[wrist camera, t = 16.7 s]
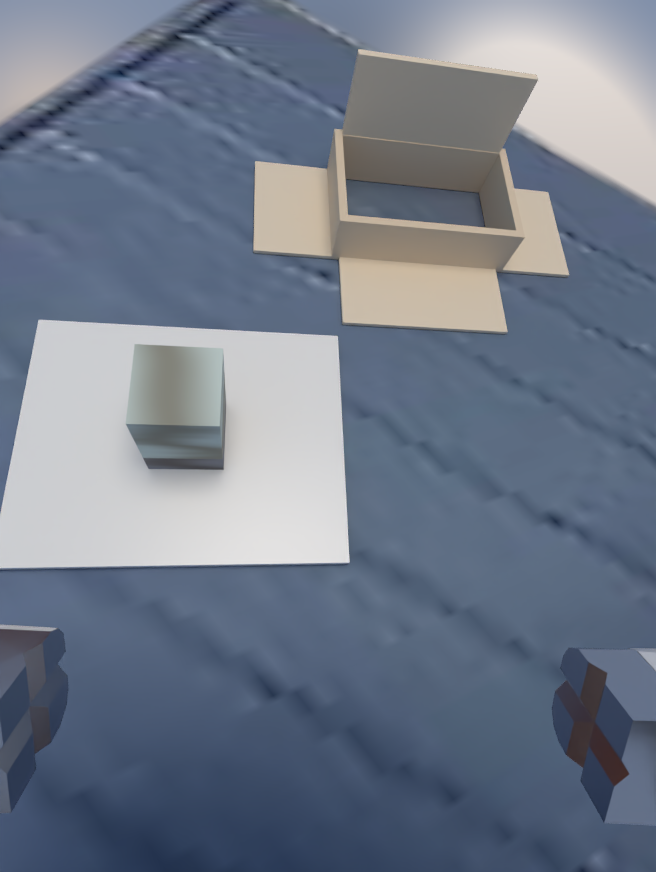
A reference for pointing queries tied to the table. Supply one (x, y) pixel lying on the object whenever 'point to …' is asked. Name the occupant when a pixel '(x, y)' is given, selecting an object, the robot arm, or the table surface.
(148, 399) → the box
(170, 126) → the table surface
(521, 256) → the carton
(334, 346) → the white board
